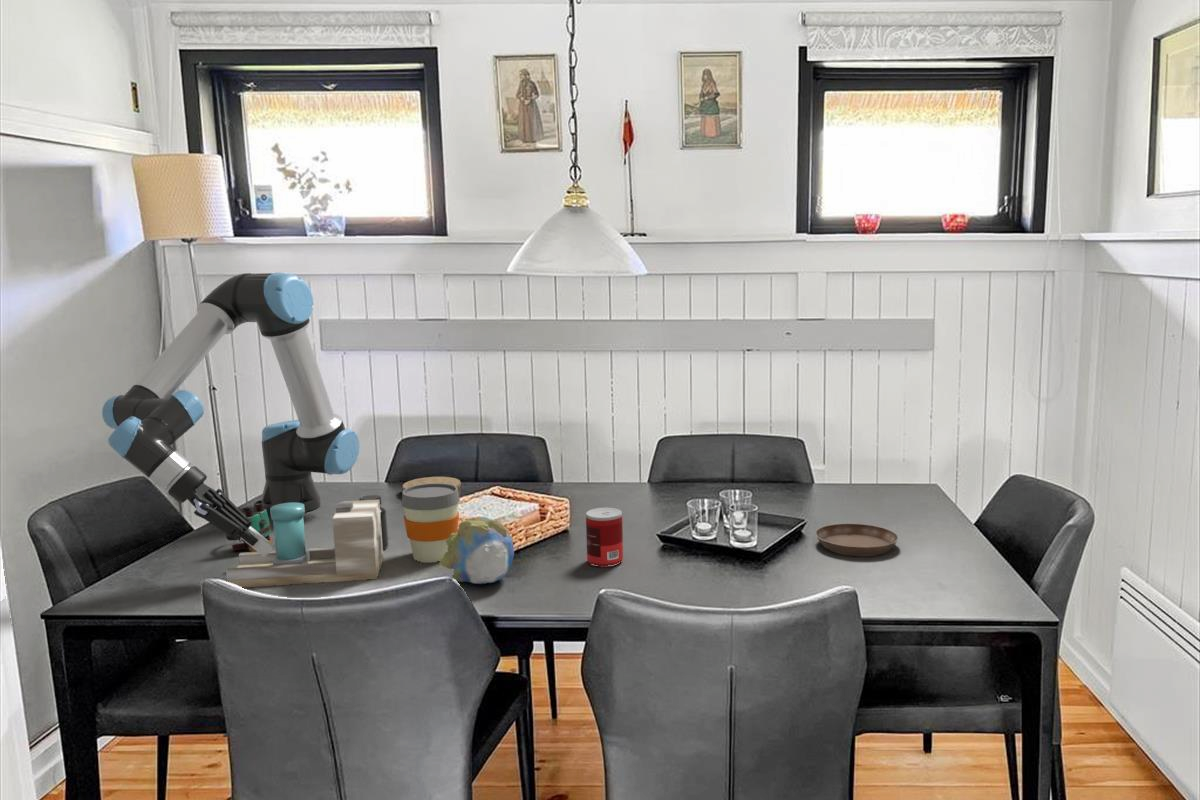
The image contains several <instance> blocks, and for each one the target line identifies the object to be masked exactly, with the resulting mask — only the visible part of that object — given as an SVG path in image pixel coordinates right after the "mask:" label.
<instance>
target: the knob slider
mask: <svg viewBox="0 0 1200 800" xmlns="http://www.w3.org/2000/svg"><path fill="white" fill-rule="evenodd" d="M270 512H271V515H270V518H271V520H272V521H273V533H274V534H273V535H274V547H275V551H276V558H275V559H274V561H273V566H276V565H292V564H308V562H309V560H310V554H309V549H310V548H307V547H306V538H305V537H306V536H305V524H304V523H305V522H304V517H305V515H306V512H305V508H304V504H302V503H295V502H293V503H282V504H278V505H275V506H272V507H271V508H270Z"/></svg>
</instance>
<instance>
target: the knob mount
mask: <svg viewBox="0 0 1200 800" xmlns="http://www.w3.org/2000/svg"><path fill="white" fill-rule="evenodd" d="M335 506H336V507H335V513H334V515H333V516H332V527H333V528H332V529H333V543H334V547H331V546H330V547H320V548H319V547H318V548H317V547H316V548H308V549H309V554H310V560H309V562H308V564H292V565H276V566H273V561H274V559H275V558H276V550H271V551H270V552H269V553H268V554H267V555H266V556H265V557H263V556H262V555H261V554H260V553H258V552H251V551H249V552H247V551H246V552H239V554H238V562H239V564H238V565H237V567H229V568H227V569H226V571H225V573H226V581H228V582H231V583H234V584H237V585H239V586H242V587H244V588H256V587H257V588H258V587H274V585H276V586H291V585H290V584H292V585H304V584H303V583H308V584H319V582H320V583H321V582H324V583H335V582H338V583H339V582H350V581H351V582H354V581H355V580H356V581H368V580H367V579H371V580H378V577H377V576H379V574H378V573H380V571H379V570H381V567H382V563H383V561H384V550H383V545H382V530H381V515H380V499H379V500H361V501H359V500H347V501H346V500H344V501H341V502H338V503H337V504H336V505H335ZM353 580H354V581H353ZM356 581H355V582H356Z"/></svg>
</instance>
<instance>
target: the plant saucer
mask: <svg viewBox="0 0 1200 800" xmlns="http://www.w3.org/2000/svg"><path fill="white" fill-rule="evenodd" d="M815 536H816V538H817V540H818V541H819V543H820V544H821V545H822V546H823V547H824V548H825V549H826V550H828V551H830V552H833V553H836V554H840V555H843V556H848V557H849V556H851V557H873V556H879V555H883V554H885V553H887V552H889V551H890V550H891V549H892V548H893V547H894V546H895V545H896V543H897V542H898V541H899V535H897V533H896V532H894V531H892V530H890V529H887V528H884V527H880V526H877V525H876V526H875V525H871V524H864V523H835V524H829V525H825V526H822V527H819V528H818V529H817V530H816V531H815Z"/></svg>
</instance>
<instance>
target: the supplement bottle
mask: <svg viewBox="0 0 1200 800" xmlns="http://www.w3.org/2000/svg"><path fill="white" fill-rule="evenodd" d="M358 499H359V500H358V501H361V500H379V499H380V515H381V530H382V545H383V551H384V550H386V549H388V547H389V543H390V542H389V528H388V526H389V525H388V513H387V510H386V509H385V507H383V506H382V504H383V503H382V496H381V495H378V494H369V495H368V494H366V495H364V496H361V497H359V498H358Z"/></svg>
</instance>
